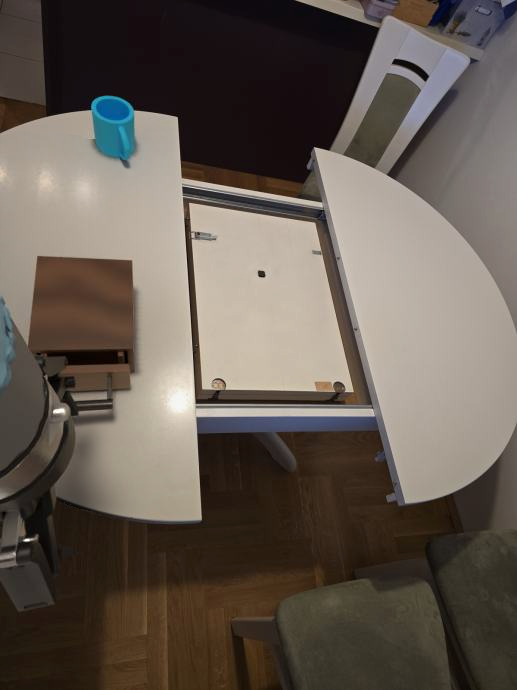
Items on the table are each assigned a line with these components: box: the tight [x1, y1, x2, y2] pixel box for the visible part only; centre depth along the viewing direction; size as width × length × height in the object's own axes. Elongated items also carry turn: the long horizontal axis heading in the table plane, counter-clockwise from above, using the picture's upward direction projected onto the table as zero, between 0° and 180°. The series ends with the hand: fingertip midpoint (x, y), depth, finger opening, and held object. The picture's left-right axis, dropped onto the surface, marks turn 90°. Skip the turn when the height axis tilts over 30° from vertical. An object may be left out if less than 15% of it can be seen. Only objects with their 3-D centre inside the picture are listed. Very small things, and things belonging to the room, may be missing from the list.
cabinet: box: [27, 255, 135, 373], centre depth 62 cm, size 16×14×10 cm
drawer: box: [41, 351, 132, 412], centre depth 60 cm, size 20×13×8 cm, turn 8°
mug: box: [90, 95, 136, 161], centre depth 82 cm, size 12×8×8 cm
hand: (62, 478), depth 40 cm, fingers open, 13 cm apart
